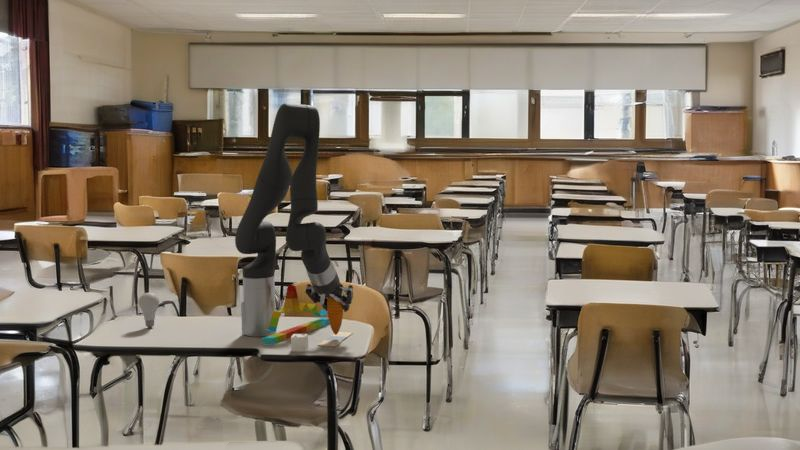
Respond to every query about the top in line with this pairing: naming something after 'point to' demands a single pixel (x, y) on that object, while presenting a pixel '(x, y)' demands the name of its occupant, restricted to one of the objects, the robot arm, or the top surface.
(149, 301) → the lightbulb
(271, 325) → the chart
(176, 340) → the top surface
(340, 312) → the carrot
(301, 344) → the die
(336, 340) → the flat strip
